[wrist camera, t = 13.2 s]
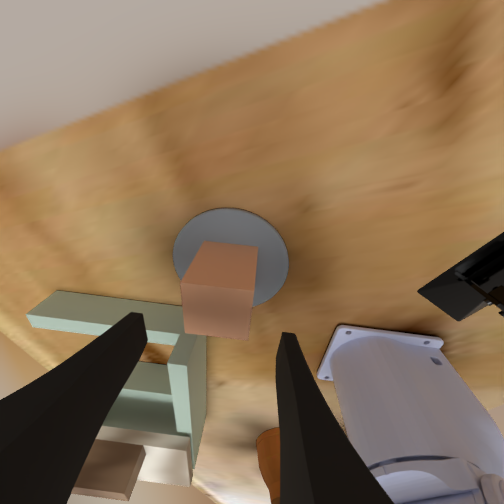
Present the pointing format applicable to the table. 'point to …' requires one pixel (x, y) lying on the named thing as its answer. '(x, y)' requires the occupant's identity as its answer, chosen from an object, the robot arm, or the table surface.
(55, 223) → the table surface
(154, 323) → the sage green u-shaped tray
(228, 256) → the block
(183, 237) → the mat
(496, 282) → the black small block
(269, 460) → the decorative plant
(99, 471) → the lid
